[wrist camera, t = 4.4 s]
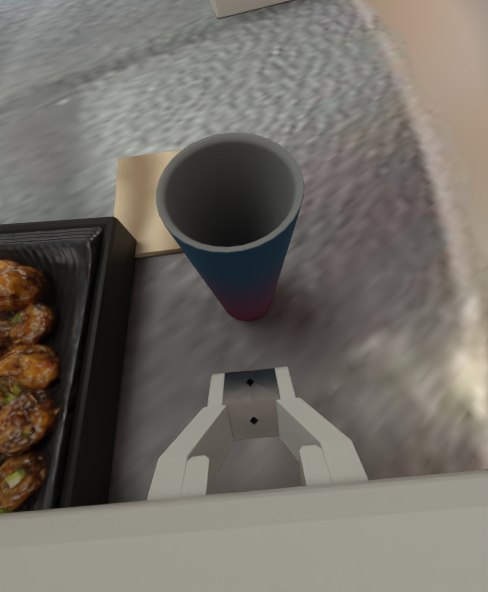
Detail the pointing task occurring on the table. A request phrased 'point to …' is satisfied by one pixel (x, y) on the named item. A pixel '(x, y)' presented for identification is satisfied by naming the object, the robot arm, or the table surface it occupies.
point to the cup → (233, 215)
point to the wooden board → (143, 203)
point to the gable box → (240, 6)
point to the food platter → (61, 359)
